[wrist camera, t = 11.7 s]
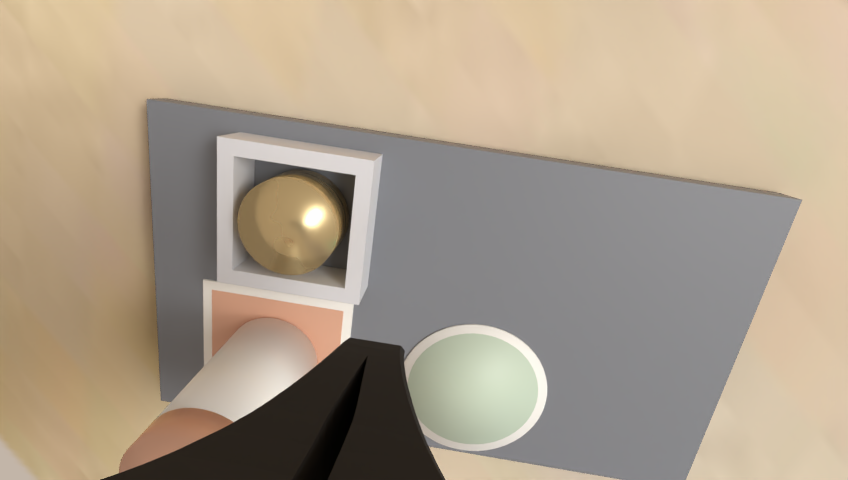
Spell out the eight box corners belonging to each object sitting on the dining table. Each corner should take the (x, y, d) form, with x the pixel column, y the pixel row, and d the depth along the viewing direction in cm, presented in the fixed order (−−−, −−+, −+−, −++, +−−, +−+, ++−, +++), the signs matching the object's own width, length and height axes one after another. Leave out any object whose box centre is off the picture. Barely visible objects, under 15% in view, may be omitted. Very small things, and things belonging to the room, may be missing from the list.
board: (670, 469, 22) (700, 524, 20) (175, 385, 23) (135, 426, 20) (780, 193, 18) (840, 212, 15) (165, 98, 19) (113, 99, 16)
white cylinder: (310, 403, 21) (239, 549, 15) (227, 381, 21) (119, 518, 15) (323, 330, 20) (251, 455, 13) (234, 307, 20) (118, 421, 13)
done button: (344, 263, 19) (332, 282, 17) (259, 249, 19) (236, 266, 17) (352, 177, 18) (340, 187, 16) (261, 162, 18) (238, 171, 16)
